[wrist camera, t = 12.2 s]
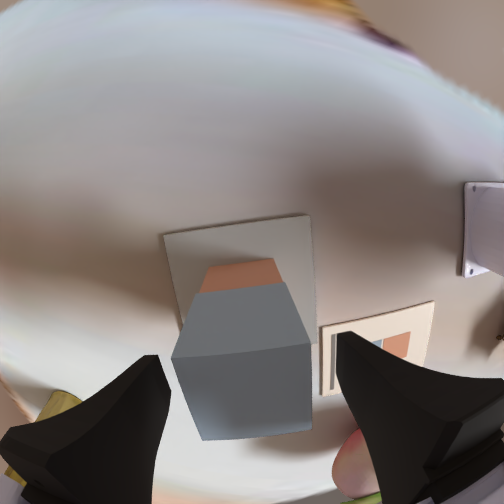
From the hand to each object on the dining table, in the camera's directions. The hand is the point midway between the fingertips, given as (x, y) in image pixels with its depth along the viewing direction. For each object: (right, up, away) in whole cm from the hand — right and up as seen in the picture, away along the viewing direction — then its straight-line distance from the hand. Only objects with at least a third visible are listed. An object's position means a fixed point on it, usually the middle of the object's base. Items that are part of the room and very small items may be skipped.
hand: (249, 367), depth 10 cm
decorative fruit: (+12, -13, +12) cm, 21 cm away
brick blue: (0, +1, +2) cm, 3 cm away
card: (+11, -3, +10) cm, 15 cm away
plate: (0, +2, +8) cm, 8 cm away
